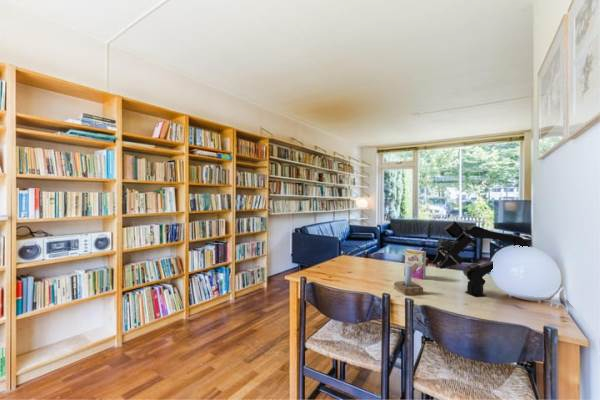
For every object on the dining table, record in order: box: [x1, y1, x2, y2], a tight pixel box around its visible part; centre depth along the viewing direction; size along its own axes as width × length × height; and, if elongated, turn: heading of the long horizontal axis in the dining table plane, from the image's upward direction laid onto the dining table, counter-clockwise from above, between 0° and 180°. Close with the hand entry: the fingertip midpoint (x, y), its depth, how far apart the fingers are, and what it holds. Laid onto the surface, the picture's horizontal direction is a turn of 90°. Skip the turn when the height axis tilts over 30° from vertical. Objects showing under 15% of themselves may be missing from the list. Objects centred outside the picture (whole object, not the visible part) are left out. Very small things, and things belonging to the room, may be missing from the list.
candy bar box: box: [404, 248, 427, 280], centre depth 168 cm, size 11×5×16 cm, turn 47°
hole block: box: [393, 281, 424, 296], centre depth 143 cm, size 10×10×4 cm
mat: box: [395, 280, 422, 287], centre depth 155 cm, size 10×10×1 cm
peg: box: [404, 265, 412, 287], centre depth 143 cm, size 3×3×13 cm
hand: (436, 265), depth 142 cm, fingers open, 9 cm apart
